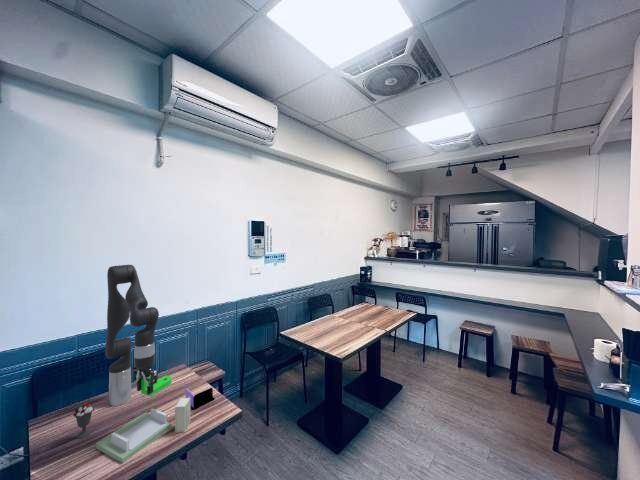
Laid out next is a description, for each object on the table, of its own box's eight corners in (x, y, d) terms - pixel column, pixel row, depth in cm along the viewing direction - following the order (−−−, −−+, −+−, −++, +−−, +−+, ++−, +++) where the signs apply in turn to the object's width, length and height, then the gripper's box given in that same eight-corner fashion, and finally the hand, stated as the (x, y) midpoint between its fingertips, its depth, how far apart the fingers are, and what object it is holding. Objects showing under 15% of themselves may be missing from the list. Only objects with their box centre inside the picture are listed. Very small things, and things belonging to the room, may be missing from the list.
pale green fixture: (95, 447, 105) (95, 433, 105) (145, 416, 124) (145, 404, 123) (122, 463, 98) (122, 448, 98) (171, 427, 116) (171, 414, 116)
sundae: (98, 430, 114) (97, 397, 114) (79, 442, 108) (79, 407, 108) (88, 427, 116) (88, 394, 116) (70, 438, 110) (69, 403, 110)
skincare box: (181, 423, 119) (181, 397, 119) (190, 422, 120) (190, 397, 119) (174, 433, 113) (174, 406, 113) (184, 433, 113) (184, 406, 113)
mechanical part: (150, 396, 113) (150, 378, 113) (141, 393, 115) (141, 375, 115) (174, 381, 124) (174, 365, 124) (165, 379, 126) (165, 363, 126)
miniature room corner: (192, 411, 127) (192, 398, 127) (182, 401, 135) (182, 388, 135) (215, 400, 137) (215, 387, 136) (205, 391, 144) (205, 379, 144)
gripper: (125, 354, 112) (125, 392, 113) (147, 360, 107) (147, 400, 107) (142, 347, 119) (142, 383, 119) (164, 353, 114) (164, 390, 114)
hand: (145, 391), depth 113 cm, fingers closed on mechanical part, 6 cm apart
